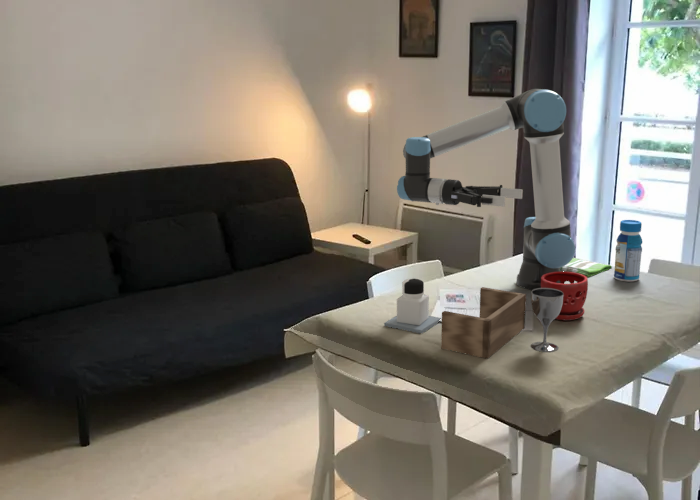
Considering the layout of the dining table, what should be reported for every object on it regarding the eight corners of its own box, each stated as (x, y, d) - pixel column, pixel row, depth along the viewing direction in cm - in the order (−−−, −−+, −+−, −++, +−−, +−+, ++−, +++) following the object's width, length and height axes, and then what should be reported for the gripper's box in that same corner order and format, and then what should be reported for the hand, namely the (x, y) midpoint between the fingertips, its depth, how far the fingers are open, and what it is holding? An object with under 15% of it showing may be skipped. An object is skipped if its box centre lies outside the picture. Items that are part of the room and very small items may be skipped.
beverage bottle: (636, 283, 248) (641, 225, 243) (610, 280, 252) (615, 222, 247) (641, 277, 255) (646, 220, 250) (616, 274, 259) (620, 218, 254)
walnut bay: (441, 348, 194) (441, 312, 191) (481, 320, 215) (482, 287, 212) (487, 358, 187) (488, 321, 185) (524, 328, 208) (526, 294, 206)
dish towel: (556, 258, 283) (556, 249, 282) (612, 269, 267) (613, 260, 266) (530, 266, 272) (531, 257, 271) (588, 279, 255) (588, 269, 255)
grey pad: (384, 326, 211) (384, 322, 211) (404, 314, 221) (404, 311, 221) (421, 333, 205) (421, 330, 204) (441, 321, 214) (441, 318, 214)
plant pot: (553, 305, 227) (556, 268, 224) (593, 315, 218) (596, 276, 215) (530, 316, 218) (532, 277, 215) (571, 326, 209) (573, 286, 206)
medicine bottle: (428, 318, 214) (429, 278, 211) (419, 326, 208) (420, 285, 205) (405, 314, 217) (406, 275, 214) (396, 322, 211) (396, 282, 208)
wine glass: (524, 342, 198) (527, 288, 194) (553, 340, 198) (557, 287, 195) (534, 353, 190) (537, 297, 186) (564, 352, 191) (568, 296, 187)
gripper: (463, 197, 233) (528, 203, 222) (426, 210, 213) (495, 218, 202) (464, 173, 232) (529, 178, 220) (426, 185, 211) (496, 191, 200)
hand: (513, 197), depth 211 cm, fingers open, 13 cm apart
